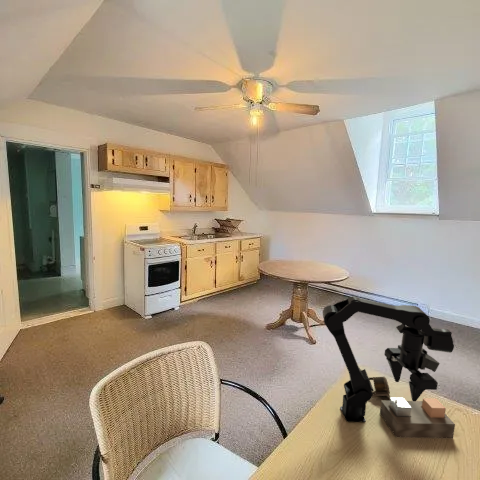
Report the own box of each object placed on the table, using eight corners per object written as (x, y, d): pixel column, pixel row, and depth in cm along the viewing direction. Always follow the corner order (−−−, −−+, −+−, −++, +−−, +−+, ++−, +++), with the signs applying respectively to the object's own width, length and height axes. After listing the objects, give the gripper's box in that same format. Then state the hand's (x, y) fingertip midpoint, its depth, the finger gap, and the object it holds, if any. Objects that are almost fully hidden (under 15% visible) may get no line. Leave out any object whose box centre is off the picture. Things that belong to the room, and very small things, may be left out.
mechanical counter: (390, 395, 99) (395, 376, 106) (353, 378, 106) (360, 361, 114) (387, 409, 102) (392, 390, 109) (351, 391, 109) (358, 374, 116)
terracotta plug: (430, 421, 90) (431, 407, 89) (421, 411, 94) (422, 398, 94) (443, 421, 90) (445, 408, 89) (434, 411, 94) (436, 398, 94)
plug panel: (395, 437, 87) (397, 422, 87) (379, 413, 97) (381, 400, 97) (453, 438, 88) (455, 424, 87) (431, 414, 97) (433, 401, 97)
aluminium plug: (396, 420, 90) (397, 407, 89) (388, 410, 94) (390, 397, 94) (409, 420, 90) (411, 407, 89) (401, 410, 94) (403, 397, 94)
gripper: (459, 364, 80) (451, 413, 82) (417, 333, 99) (411, 374, 101) (421, 362, 80) (414, 412, 82) (386, 332, 98) (381, 373, 101)
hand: (405, 390), depth 91 cm, fingers open, 9 cm apart
